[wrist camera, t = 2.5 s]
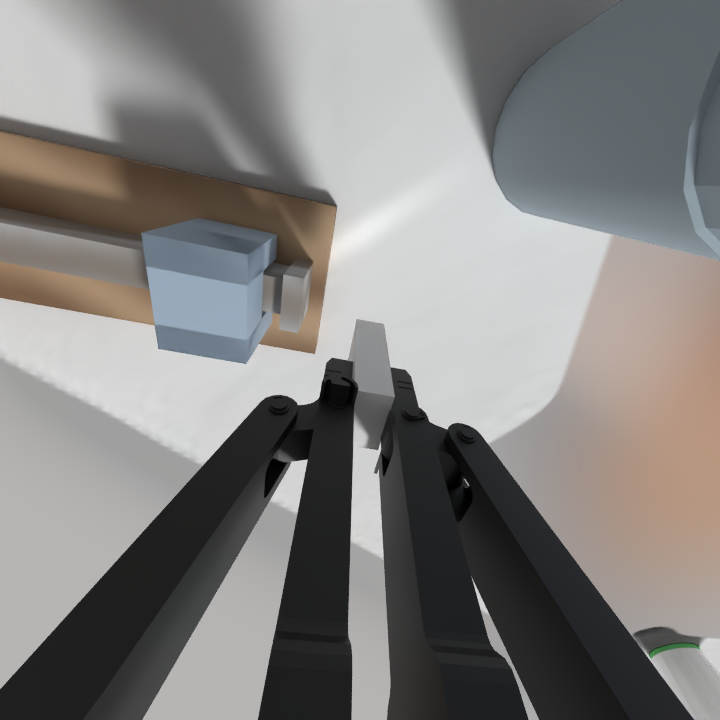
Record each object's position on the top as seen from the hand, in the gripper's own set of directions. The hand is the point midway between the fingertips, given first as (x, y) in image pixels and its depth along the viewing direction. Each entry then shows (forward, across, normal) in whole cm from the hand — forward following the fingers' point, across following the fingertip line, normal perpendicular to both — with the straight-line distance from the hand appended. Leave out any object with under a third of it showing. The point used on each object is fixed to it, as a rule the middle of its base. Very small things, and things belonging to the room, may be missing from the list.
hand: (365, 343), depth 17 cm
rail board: (+8, -17, 0) cm, 19 cm away
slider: (+6, -9, 0) cm, 11 cm away
